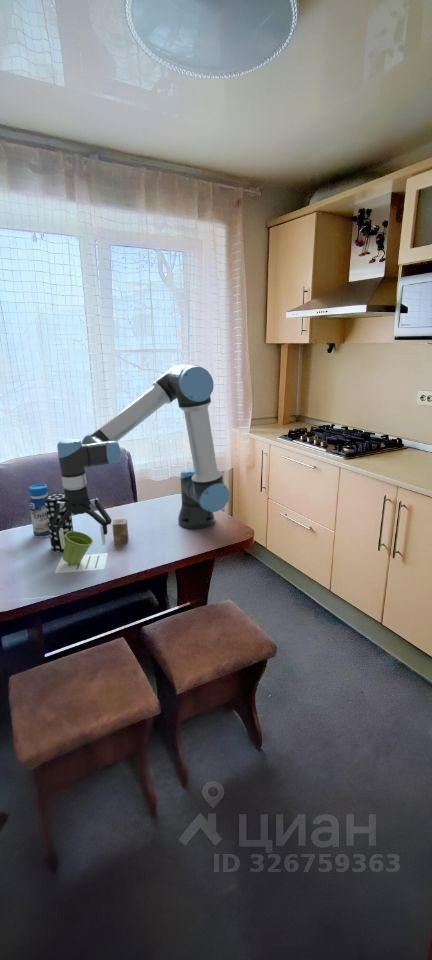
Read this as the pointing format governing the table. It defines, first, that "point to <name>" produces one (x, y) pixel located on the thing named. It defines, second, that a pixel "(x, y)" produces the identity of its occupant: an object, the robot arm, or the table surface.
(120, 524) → the block
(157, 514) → the table surface
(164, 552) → the table surface
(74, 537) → the plant pot
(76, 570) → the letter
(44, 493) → the beverage bottle
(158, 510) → the table surface
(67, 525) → the white-spotted black cylinder
